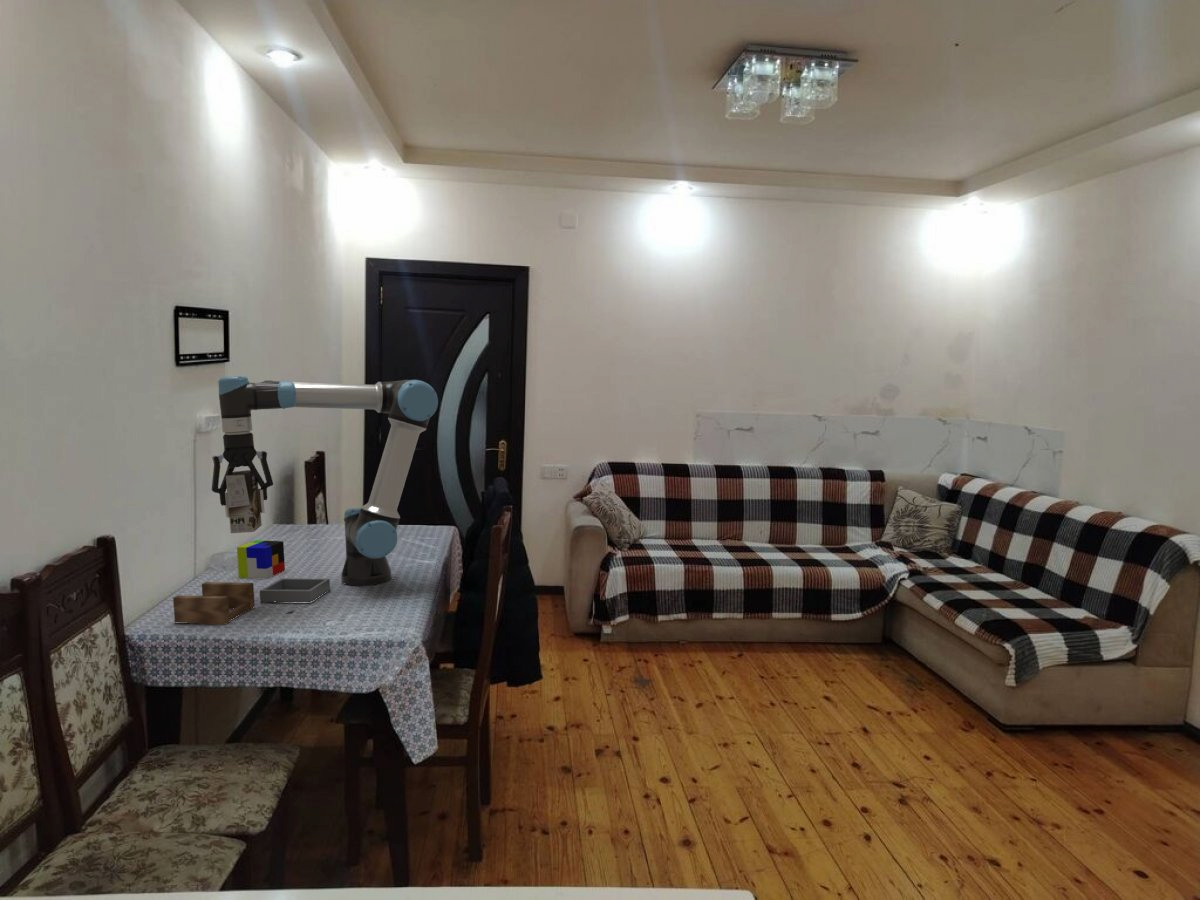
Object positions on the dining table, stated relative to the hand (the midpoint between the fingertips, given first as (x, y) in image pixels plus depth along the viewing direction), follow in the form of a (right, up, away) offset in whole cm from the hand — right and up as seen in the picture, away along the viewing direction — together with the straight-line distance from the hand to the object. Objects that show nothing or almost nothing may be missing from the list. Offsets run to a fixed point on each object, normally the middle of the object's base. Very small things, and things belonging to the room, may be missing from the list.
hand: (245, 514), depth 225 cm
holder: (-6, -27, -4) cm, 28 cm away
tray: (+9, -25, +13) cm, 30 cm away
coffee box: (0, -5, +1) cm, 4 cm away
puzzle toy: (-11, -23, +39) cm, 46 cm away
